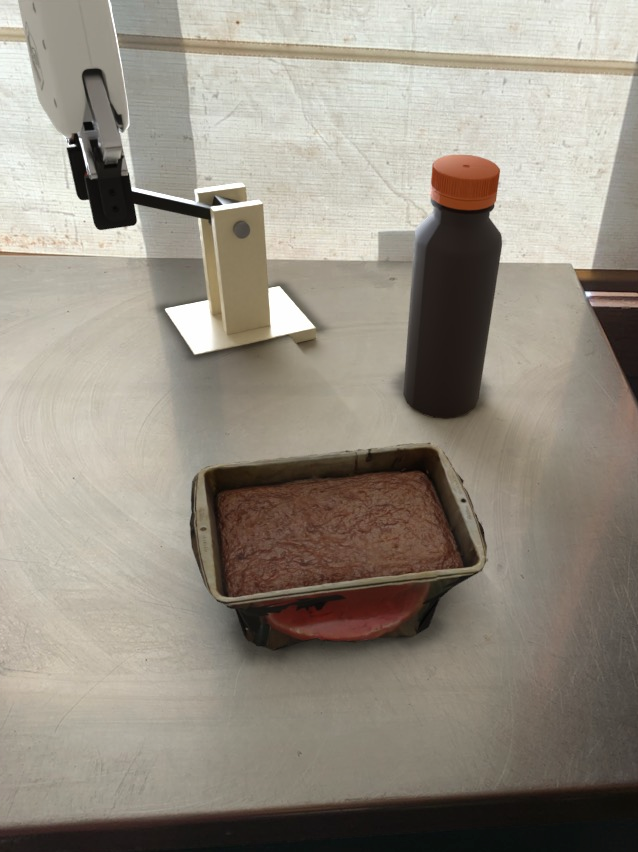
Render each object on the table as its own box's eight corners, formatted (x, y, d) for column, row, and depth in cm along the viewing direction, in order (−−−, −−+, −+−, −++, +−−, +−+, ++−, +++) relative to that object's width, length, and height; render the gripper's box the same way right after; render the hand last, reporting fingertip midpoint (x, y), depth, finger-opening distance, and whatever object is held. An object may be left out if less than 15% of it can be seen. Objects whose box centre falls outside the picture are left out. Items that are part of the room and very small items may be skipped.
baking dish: (464, 680, 52) (507, 567, 46) (182, 680, 47) (187, 555, 41) (423, 537, 62) (454, 431, 56) (190, 526, 58) (195, 409, 52)
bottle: (457, 371, 74) (486, 146, 60) (491, 412, 70) (530, 179, 56) (391, 384, 72) (404, 153, 58) (421, 427, 68) (444, 189, 53)
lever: (97, 214, 61) (102, 182, 60) (82, 189, 64) (86, 159, 63) (251, 244, 69) (259, 218, 68) (231, 222, 72) (238, 196, 71)
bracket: (196, 366, 72) (176, 227, 63) (166, 319, 77) (143, 186, 68) (316, 338, 77) (313, 206, 68) (280, 296, 82) (273, 168, 73)
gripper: (-31, -93, 55) (37, 177, 67) (14, -41, 44) (83, 265, 57) (81, -91, 57) (125, 167, 70) (147, -42, 47) (185, 249, 60)
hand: (106, 209), depth 64 cm, fingers closed on lever, 5 cm apart
